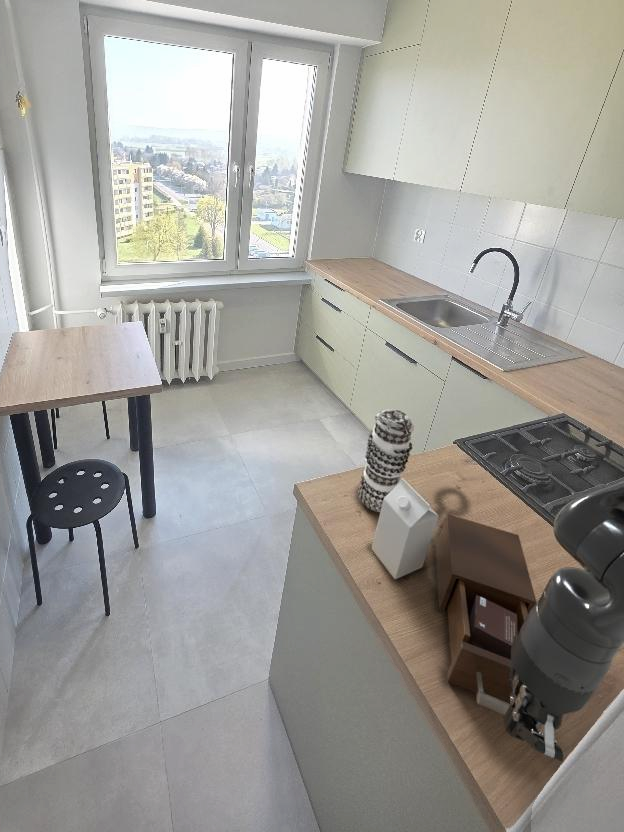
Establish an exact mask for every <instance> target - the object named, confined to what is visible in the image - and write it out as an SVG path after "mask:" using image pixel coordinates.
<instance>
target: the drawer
mask: <svg viewBox="0 0 624 832" xmlns="http://www.w3.org/2000/svg"><path fill="white" fill-rule="evenodd" d="M477 595H478V596H480V597H482V598H484V599H486V600H488V601H491V602H492V603H495V604H497V605H499V606H501V607H503V608H505V609H507V610H509V611H511V612H513V613H515V614H517V627H518V633H519V631H520V629H521V627H522V625H523V623H524V622H525V620H526V618H527V616H528V613H527V609H526V604H525V602H524V601H521V600H518V599H515V598H512V597H509V596H506V595H503V594H501V593H498V592H495V591H492V590H489V589H486V588H483V587H480V586H477V585H474V584H471V583H468V582H465V581H463V580H460V579H456V582H455V584H454V587H453V589H452V592H451V595H450V597H449V600H448V602H447V605H446V607H447V621H448V633H449V647H450V649H449V650H450V661H451V664H450V666H449V669H448V671H447V673H446V680H447V682H448V683H450V684H453V685H455V686H457V687H460V688H463V689H465V690H467V691H469V692H472V693H475V694H476V703H477V704H478V705H479V706H481V707H483V708H487V709H489V710H492V711H494V712H496V713H498V714H501V715H503V716H504V715H505V714H506V712H507V710H508V708H509V706H510V704H511V703H510V694H511V692H512V690H513V689H512V687H510V686H509V682H508V679H509V672H510V662H511V660H510V659H507V658H505V657H502V656H500V655H497V654H494V653H492V652H489V651H487V650H484V649H481V648H479V647H476V646H474V645H471V644H468V641H469V639H470V628H469V620H468V616H469V614H470V611H471V608H472V606H473V604H474V601H475V599H476V596H477Z"/></svg>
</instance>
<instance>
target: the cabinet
mask: <svg viewBox="0 0 624 832" xmlns="http://www.w3.org/2000/svg"><path fill="white" fill-rule="evenodd" d="M435 555H436V575H437V592H438V594H437V595H438V609H439V610H440V611H445V610H446V607H447V605H448V603H449V600H450V598H451V595H452V592H453V590H454V587H455V585H456V582H457V580H458V579H460V580H463V581H465V582H468V583H471V584H474V585H477V586H480V587H483V588H486V589H489V590H492V591H495V592H498V593H501V594H503V595H506V596H509V597H512V598H515V599H518V600H521V601H524V602H525V604H526V609H527V613H528V614H529V612H530V611H531V609H532V608H533V607H534V606H535V605H536V604H537V602H538V601H537V599H536V595H535V591H534V587H533V584H532V580H531V576H530V572H529V569H528V564H527V562H526V559H525V554H524V550H523V546H522V542H521V540H520V536H519V534H517V533H513V532H509V531H506V530H503V529H499V528H496V527H492V526H490V525H486V524H483V523H480V522H476V521H473V520H469V519H467V518H464V517H463V518H462V517H459V516H456V515H453V514H449V513H446V515H445V519H444V522H443V525H442V527H441V531H440V534H439V537H438V540H437V543H436V545H435Z"/></svg>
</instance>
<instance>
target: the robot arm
mask: <svg viewBox="0 0 624 832" xmlns="http://www.w3.org/2000/svg"><path fill="white" fill-rule="evenodd" d="M553 534H554V538H555V540H556V542H557V543H558V544H559V545H560V546H561V548H563V550H564V551H565V552H566V553H567V554H568V555H570V557H571V558H572V559H574V561H576V562H577V563H578V564H579V565H580V566H581V567H582V568H583V569H582V568H579V567H574V566H572V567H571V566H566V567H561V568H559V569H558V570H556V571H555V572H554V573H553V574H552V575H551V577H550V578H549V580H548V582H547V584H546V585H545V586H544V587H545V588H544V590H543V591H542V593H541V595H540V596H539V599H538V601H536V602H537V603H536V605H535V606H534V607H533V608H532V609H531V611H530V612H529V614H528V616H527V618H526V620H525V622H524V623H523V625H522V627H521V629H520V631H519V633H518V635H517V637H515V636H514V637H513V640H512V642H513V643H512V648H511V662H510V672H509V679H508V682H509V686H510V687H512V689H513V690H512V692H511V694H510V703H511V704H510V706H509V708H508V710H507V712H506V714H505V715H503V724H504V730H505V732H506V733H507V734H509V736H510V737H512V738H515V739H517V740H519V741H521V742H525V743H527V744H528V746H530V747H531V748H532V749H533V750H534V751H536V752H538V753H539V754H542V755H544V756H547V757H549V758H551V759H554V760H556V761H558V762H560V763H562V762H563V760H564V753H563V749H562V747H561V746H560V745H558V741H557V739H556V737H555V730H558V729H560V728H561V726H562V721H563V717H564V716H565V715H567V714H571V713H575V712H579V711H580V710H582V709H583V708H584V707H585V705H586V704H587V703H588V701H589V700H590V698H591V697H592V695H593V694H594V693H595V692H596V690H597V688H598V687H599V686H600V684H601V683H602V682H603V680H604V678H605V677H606V676H607V675H608V672H609V670H610V668H611V666H612V662H613V659H614V657H615V656H616V655H617V653H618V652H619V650H620V649H621V647H622V646H623V644H624V480H621V481H619V482H617V483H615V484H611V485H608V486H606V487H604V488H601V489H598V490H595V491H591V492H589V493H586V494H583V495H581V496H578V497H576V498H574V499H572V500H570V501H569V502H567V503H566V504H564V505H563V506H562V507H561V508H560V510H558V512H557V514H556V516H555V518H554V521H553Z"/></svg>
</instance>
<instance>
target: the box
mask: <svg viewBox="0 0 624 832" xmlns="http://www.w3.org/2000/svg"><path fill="white" fill-rule="evenodd" d="M468 620H469V628H470V639H469V641H468V644H471V645H474V646H476V647H479V648H481V649H484V650H487V651H489V652H492V653H494V654H497V655H500V656H502V657H505V658H507V659H510V660H511V648H512V643H513V642H512V640H513V637H514V636H515V637H517V635H518V627H517V614H515V613H513V612H511V611H509V610H507V609H505V608H503V607H501V606H499V605H497V604H495V603H492V602H491V601H488V600H486V599H484V598H482V597H480V596H478V595H477V596H476V599H475V601H474V604H473V606H472V608H471V611H470V614H469V616H468Z"/></svg>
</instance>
